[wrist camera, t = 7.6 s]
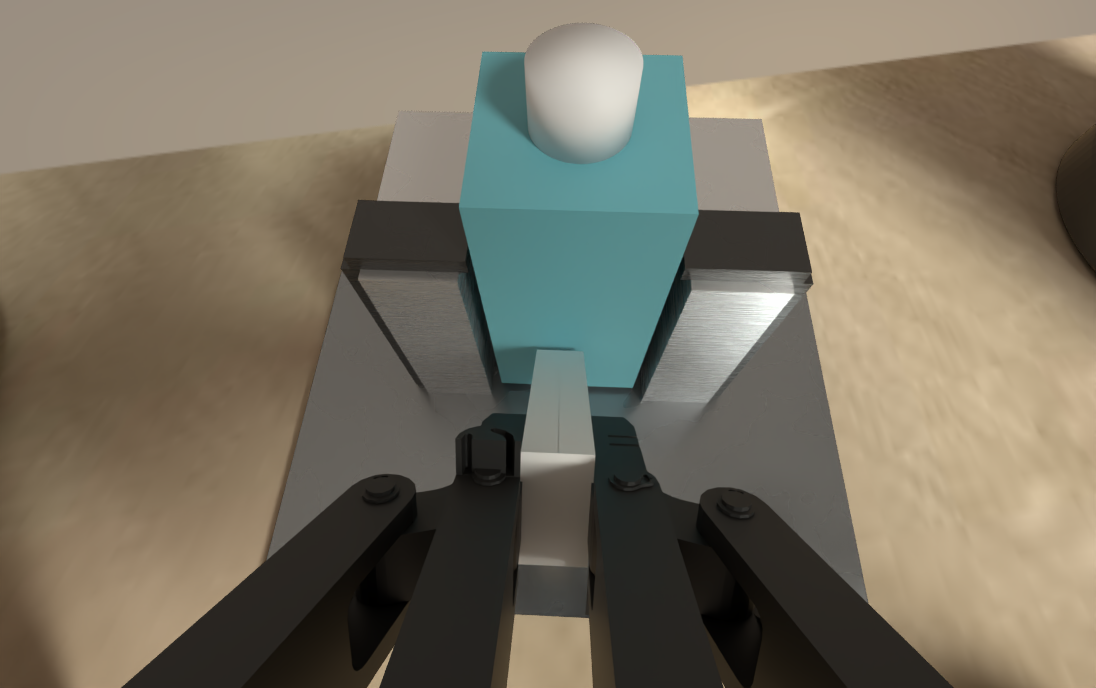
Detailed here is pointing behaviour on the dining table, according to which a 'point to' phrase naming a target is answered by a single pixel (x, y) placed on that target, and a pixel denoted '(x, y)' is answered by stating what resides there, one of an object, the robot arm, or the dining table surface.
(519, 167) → the teal post
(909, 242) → the dining table surface
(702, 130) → the steel clamp
